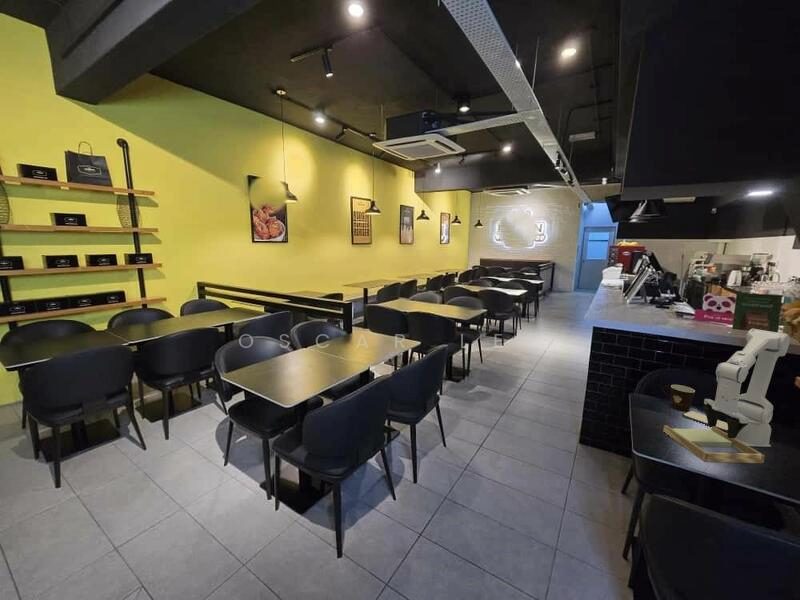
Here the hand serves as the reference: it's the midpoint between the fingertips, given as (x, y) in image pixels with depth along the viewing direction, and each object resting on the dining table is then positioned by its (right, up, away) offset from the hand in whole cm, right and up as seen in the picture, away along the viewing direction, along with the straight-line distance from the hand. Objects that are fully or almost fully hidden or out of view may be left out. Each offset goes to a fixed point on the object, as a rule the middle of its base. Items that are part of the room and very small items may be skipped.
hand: (721, 431), depth 118 cm
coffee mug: (+16, -4, +37) cm, 40 cm away
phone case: (+17, -6, +23) cm, 30 cm away
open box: (+1, -8, +5) cm, 10 cm away
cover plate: (+1, -8, +10) cm, 13 cm away
